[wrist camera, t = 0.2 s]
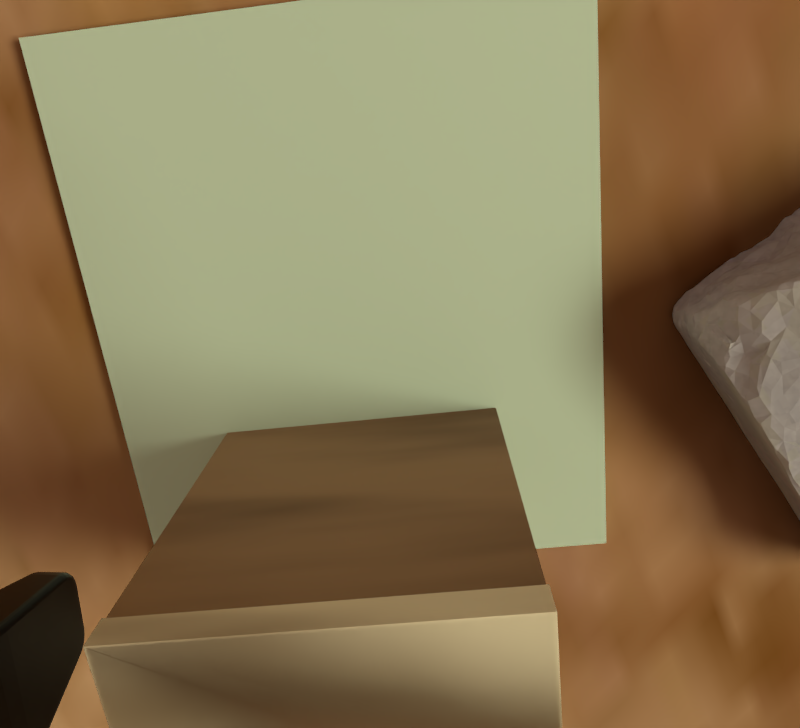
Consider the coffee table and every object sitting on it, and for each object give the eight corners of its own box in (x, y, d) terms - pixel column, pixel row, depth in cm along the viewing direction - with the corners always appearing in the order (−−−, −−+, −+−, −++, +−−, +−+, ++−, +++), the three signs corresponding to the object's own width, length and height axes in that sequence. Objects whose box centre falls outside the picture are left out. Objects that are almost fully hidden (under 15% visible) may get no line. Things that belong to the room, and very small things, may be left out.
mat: (604, 538, 24) (606, 543, 23) (165, 573, 25) (163, 578, 24) (593, -37, 18) (596, -40, 18) (24, 39, 19) (18, 38, 19)
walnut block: (506, 540, 23) (566, 812, 14) (253, 560, 24) (144, 836, 14) (497, 406, 22) (557, 611, 12) (225, 431, 22) (82, 646, 13)
